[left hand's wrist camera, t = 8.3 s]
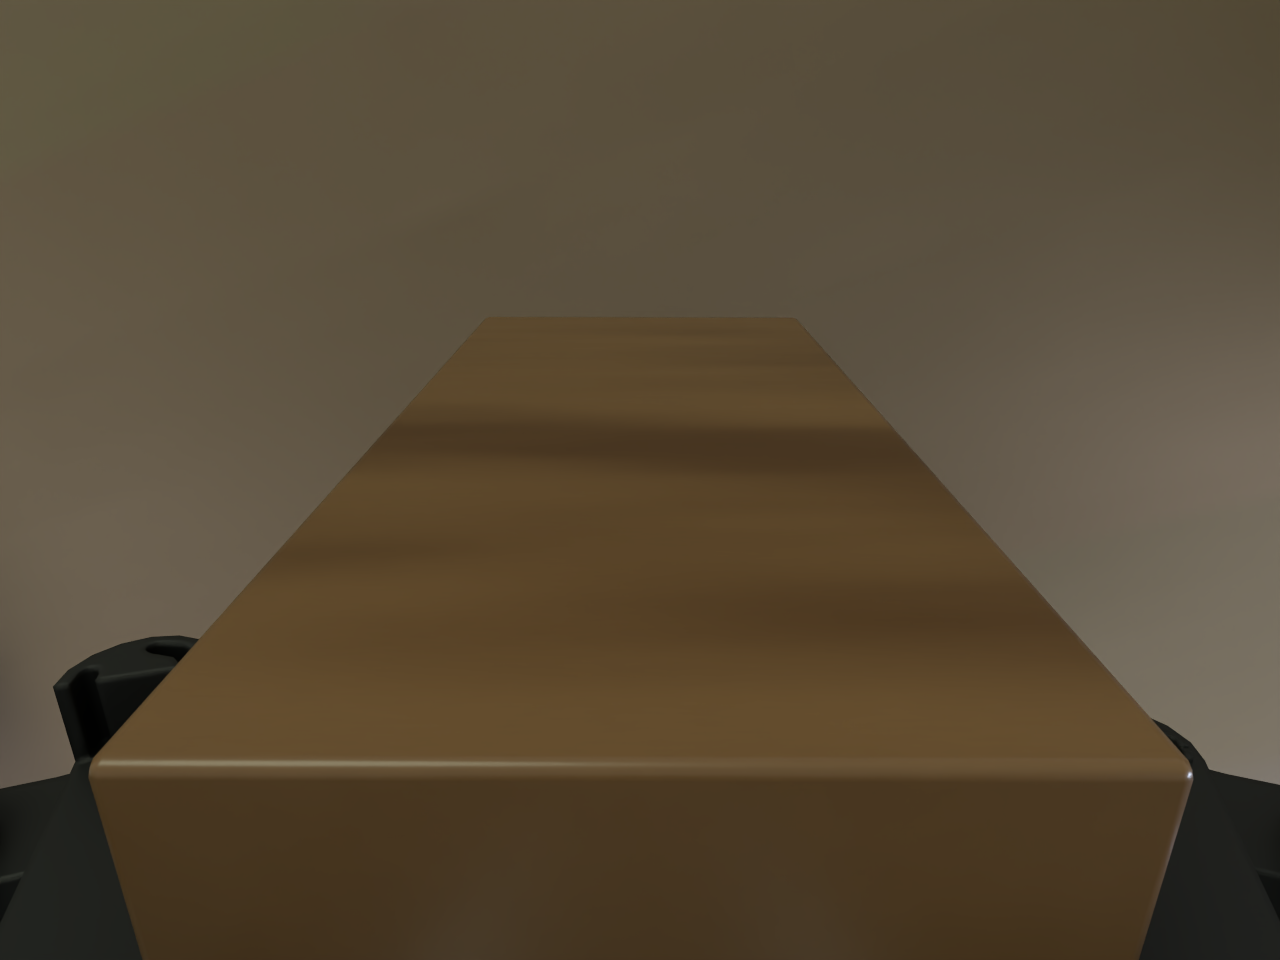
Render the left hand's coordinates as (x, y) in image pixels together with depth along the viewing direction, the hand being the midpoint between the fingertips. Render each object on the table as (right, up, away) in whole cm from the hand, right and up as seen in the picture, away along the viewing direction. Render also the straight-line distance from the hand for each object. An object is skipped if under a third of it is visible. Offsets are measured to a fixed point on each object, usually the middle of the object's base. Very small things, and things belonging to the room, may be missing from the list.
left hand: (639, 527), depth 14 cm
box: (0, -6, +5) cm, 8 cm away
